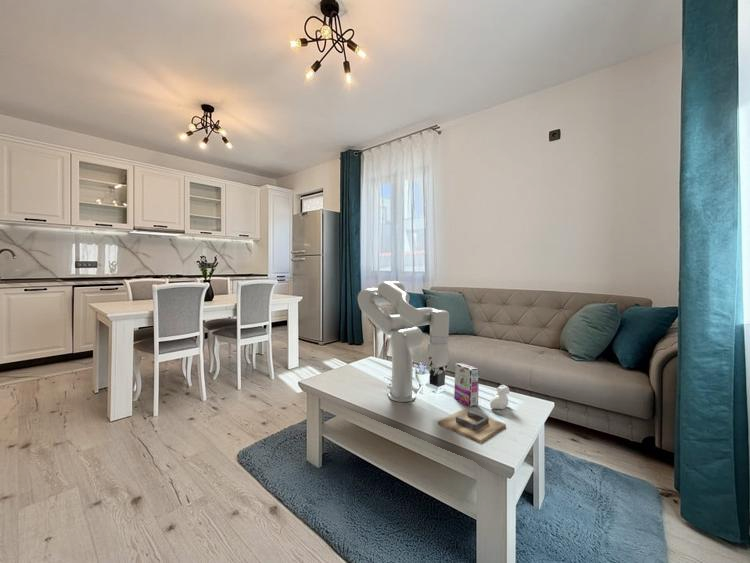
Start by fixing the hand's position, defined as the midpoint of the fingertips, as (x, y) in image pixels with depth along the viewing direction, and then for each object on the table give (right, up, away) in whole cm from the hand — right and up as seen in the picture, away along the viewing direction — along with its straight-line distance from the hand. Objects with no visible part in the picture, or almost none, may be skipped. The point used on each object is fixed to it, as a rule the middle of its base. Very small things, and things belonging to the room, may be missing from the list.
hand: (436, 382), depth 132 cm
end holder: (+11, -12, -12) cm, 21 cm away
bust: (+28, -13, +4) cm, 31 cm away
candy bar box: (+15, -12, +10) cm, 22 cm away
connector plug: (0, -1, 0) cm, 1 cm away
